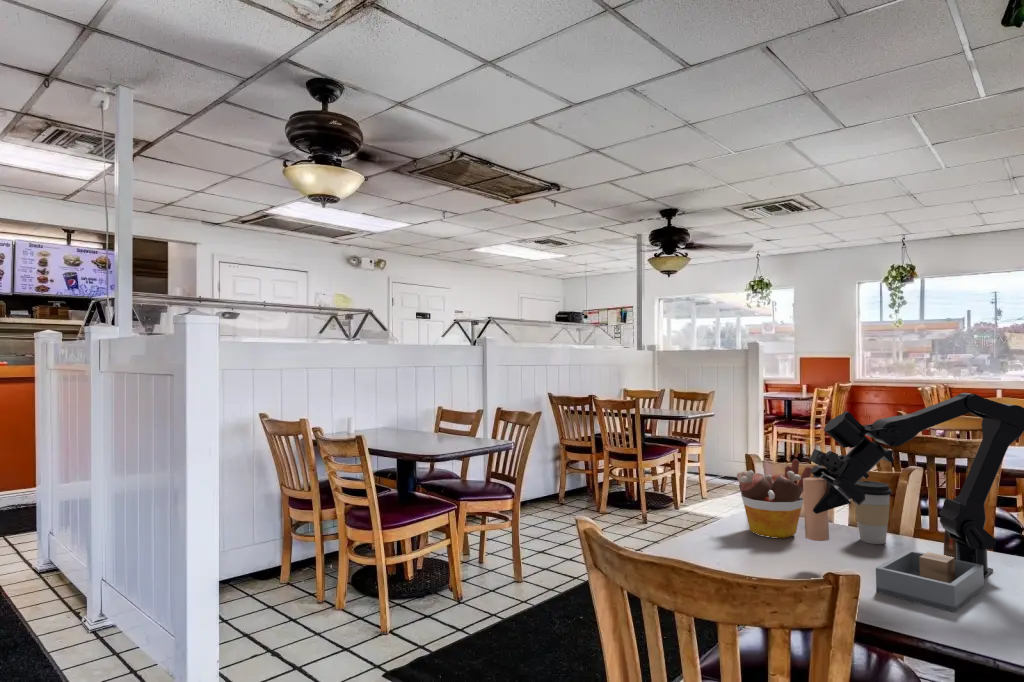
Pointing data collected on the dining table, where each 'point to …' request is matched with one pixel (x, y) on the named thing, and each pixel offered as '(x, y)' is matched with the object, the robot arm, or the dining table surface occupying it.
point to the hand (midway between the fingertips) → (810, 509)
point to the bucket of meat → (773, 500)
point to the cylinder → (813, 522)
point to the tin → (949, 545)
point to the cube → (937, 567)
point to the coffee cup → (873, 511)
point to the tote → (929, 582)
